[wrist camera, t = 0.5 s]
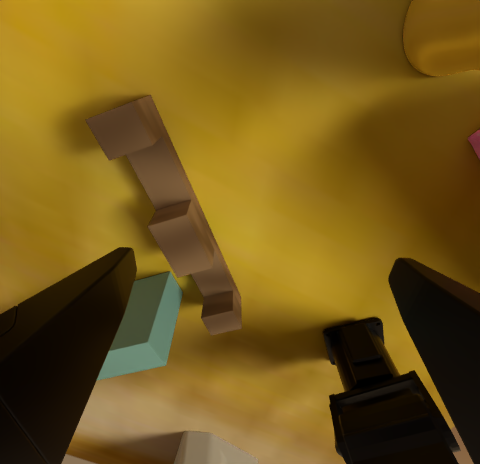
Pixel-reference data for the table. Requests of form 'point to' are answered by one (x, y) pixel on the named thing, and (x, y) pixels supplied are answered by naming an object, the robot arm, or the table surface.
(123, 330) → the teal plate
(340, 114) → the table surface
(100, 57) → the table surface
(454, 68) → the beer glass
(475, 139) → the gum box
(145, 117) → the walnut rail
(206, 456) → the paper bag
